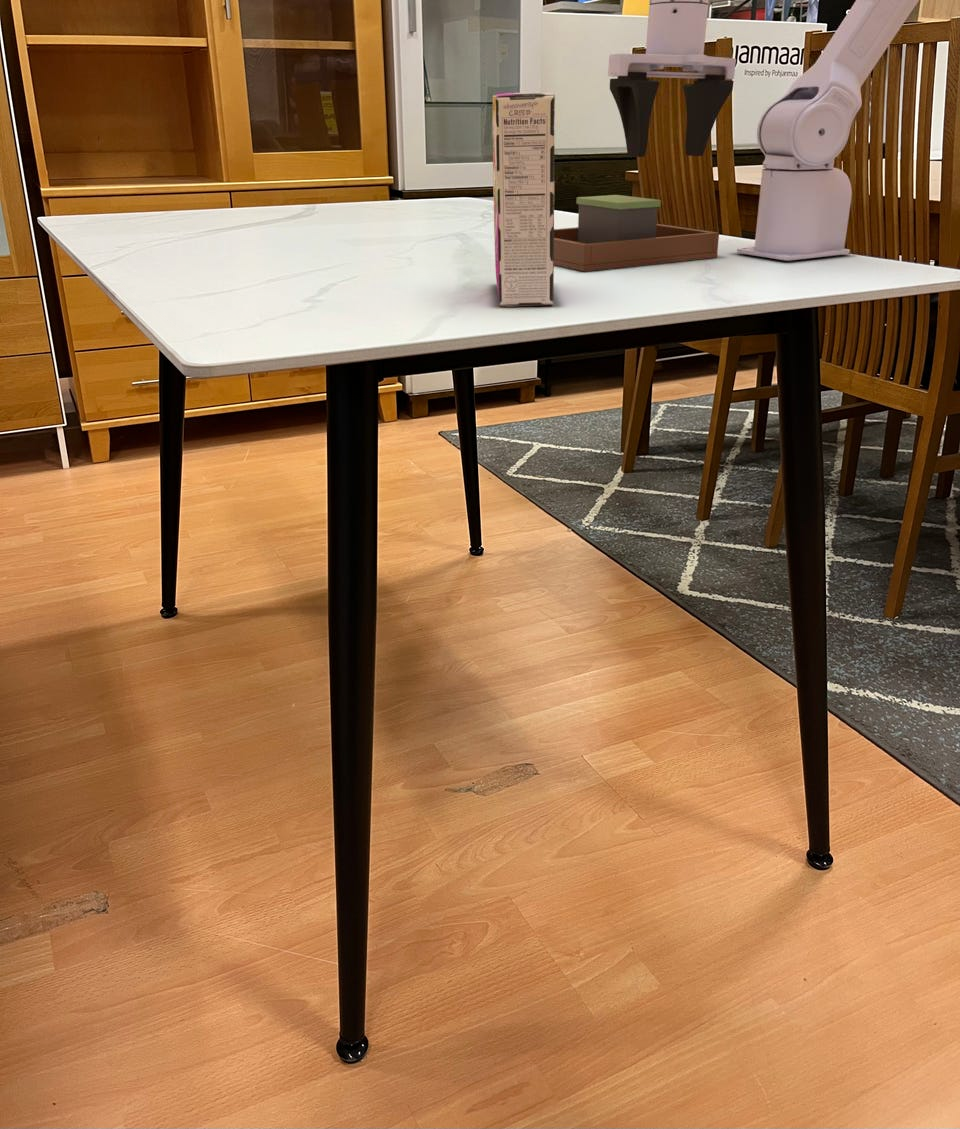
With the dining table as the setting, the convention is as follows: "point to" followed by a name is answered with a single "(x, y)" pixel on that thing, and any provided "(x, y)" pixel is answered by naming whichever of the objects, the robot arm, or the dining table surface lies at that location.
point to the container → (616, 218)
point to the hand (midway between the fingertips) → (665, 156)
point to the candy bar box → (524, 197)
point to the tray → (634, 249)
